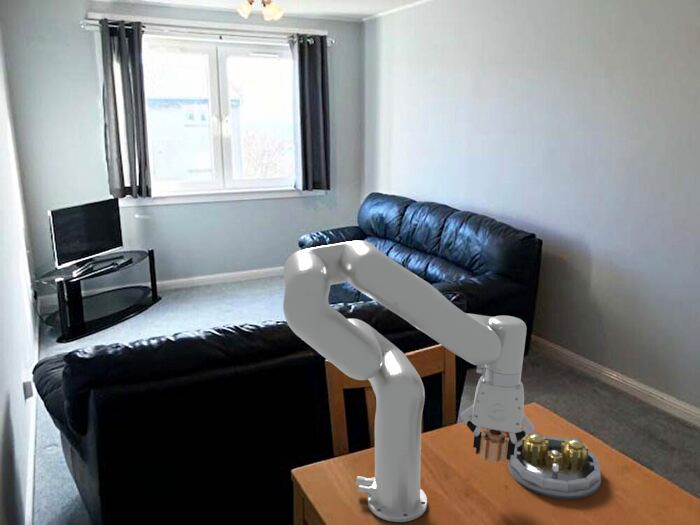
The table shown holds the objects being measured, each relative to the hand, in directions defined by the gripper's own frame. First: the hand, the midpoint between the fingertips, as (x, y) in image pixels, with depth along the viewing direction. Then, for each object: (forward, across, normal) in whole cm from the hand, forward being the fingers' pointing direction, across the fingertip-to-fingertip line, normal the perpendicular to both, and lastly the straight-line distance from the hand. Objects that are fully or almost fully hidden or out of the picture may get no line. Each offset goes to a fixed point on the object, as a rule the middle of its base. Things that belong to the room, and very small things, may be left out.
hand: (493, 453), depth 123 cm
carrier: (+9, +14, +12) cm, 20 cm away
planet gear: (+1, 0, 0) cm, 1 cm away
